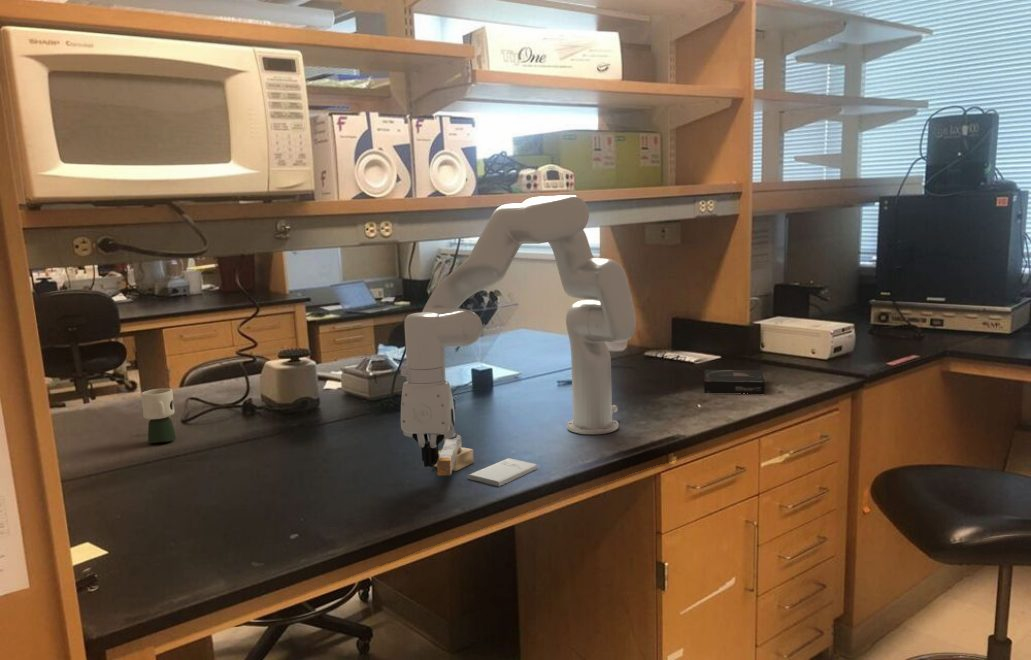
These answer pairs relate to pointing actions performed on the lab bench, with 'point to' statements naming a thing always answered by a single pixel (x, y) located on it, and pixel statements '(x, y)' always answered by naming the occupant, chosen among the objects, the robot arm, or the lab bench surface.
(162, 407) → the character mug
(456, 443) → the latch arm
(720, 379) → the portable cd player
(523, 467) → the external hard drive
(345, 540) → the lab bench surface
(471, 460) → the block
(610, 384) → the robot arm
